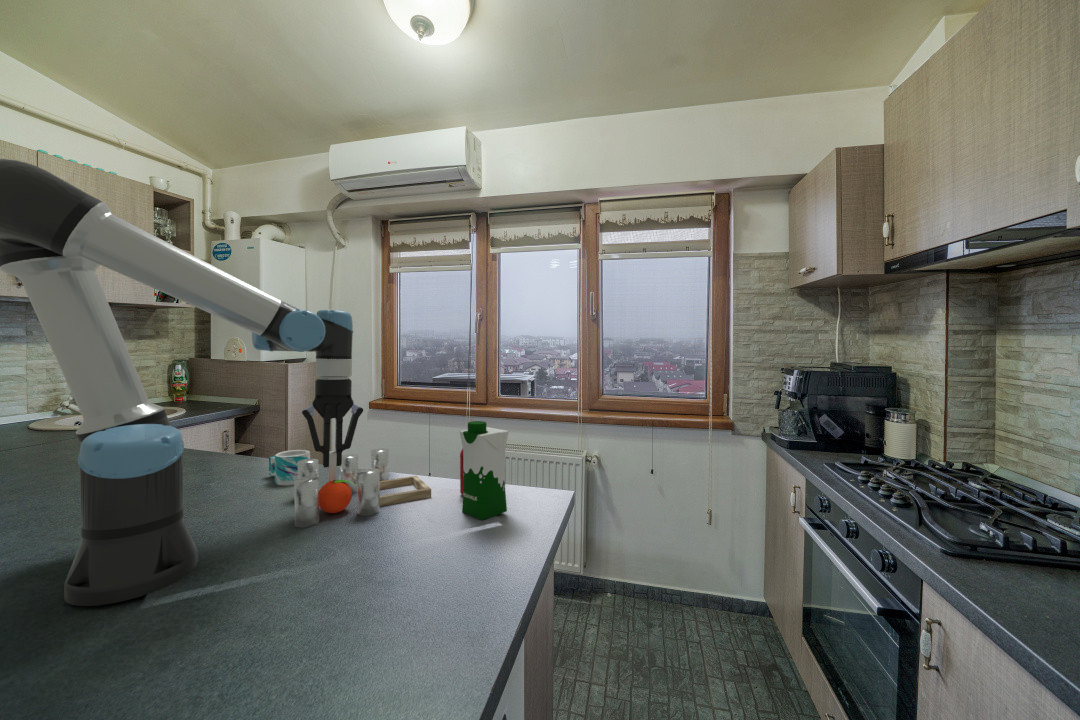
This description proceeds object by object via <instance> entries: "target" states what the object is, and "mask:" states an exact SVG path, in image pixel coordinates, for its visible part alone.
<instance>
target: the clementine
mask: <svg viewBox="0 0 1080 720" xmlns="http://www.w3.org/2000/svg"><path fill="white" fill-rule="evenodd" d="M345 482H349V483H352V482H350V481H347V480H339V479H336V480H333V481H329V482H326V483H324V485H322V487H321V488H319V509H321V510H322V511H323V512H325V513H327V514H328V513H329V514H337V513H340V512H342V511H343V510H345V509H346V508H347V507H348V506H349V504H351V501H352V498H353V497H352V496H353V494H352V491H351V488H350V486H349V485H348V484H347V483H345ZM352 484H353V483H352ZM353 485H354V484H353ZM355 487H356V486H355Z"/></svg>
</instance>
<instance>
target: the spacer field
mask: <svg viewBox="0 0 1080 720" xmlns="http://www.w3.org/2000/svg"><path fill="white" fill-rule="evenodd" d="M389 452H390V451H389V448H385V447H384V448H381V447H380V448H374V449H371V450H370V468H365V469H361V470H359V455H358V454H356V453H355V454H354V453H351V454H350V453H349V454H343V455H342V464H341V466H338V471H339V472H338V477H339V478H338V480H347V481H350V482H352V483H353V484H354V485H353V484H352V483H349V482H345V483H347V484H348V485H349V486H350V488H351V491H352V495H353V494H355V493H357V500H358V501H357V514H358V515H359V516H362V517H363V516H364V517H366V516H373V515H376V514H379V513H380V512H381V511H380V510H381V508H380V507H381V506H380V496H381V495H380V481H384V480H390V477H389V476H390V475H389V474H390V472H389V471H390V470H389V469H390V468H389V463H390V462H389V458H390V457H389ZM319 472H320V471H319V459H318V458H310V459H305V460H300V461H298V479H296V480H295V481H294V485H293V486H294V527H296V528H300V529H301V528H309V527H312V526H315V525H317V524H319V523H320V507H319V490H320V484H319V483H320V480H319V479H320V478H319ZM355 486H356V487H355Z"/></svg>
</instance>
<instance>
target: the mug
mask: <svg viewBox="0 0 1080 720" xmlns="http://www.w3.org/2000/svg"><path fill="white" fill-rule="evenodd" d="M305 459H311V451H310V450H306V449H291V450H284V451H281V452H278V453H276V454H274V455H273V456H269V457H268V475H269V476H272V477H274V483H275V484H276V485H278V486H294V481H295V480H296V479H298V461H300V460H305Z"/></svg>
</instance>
